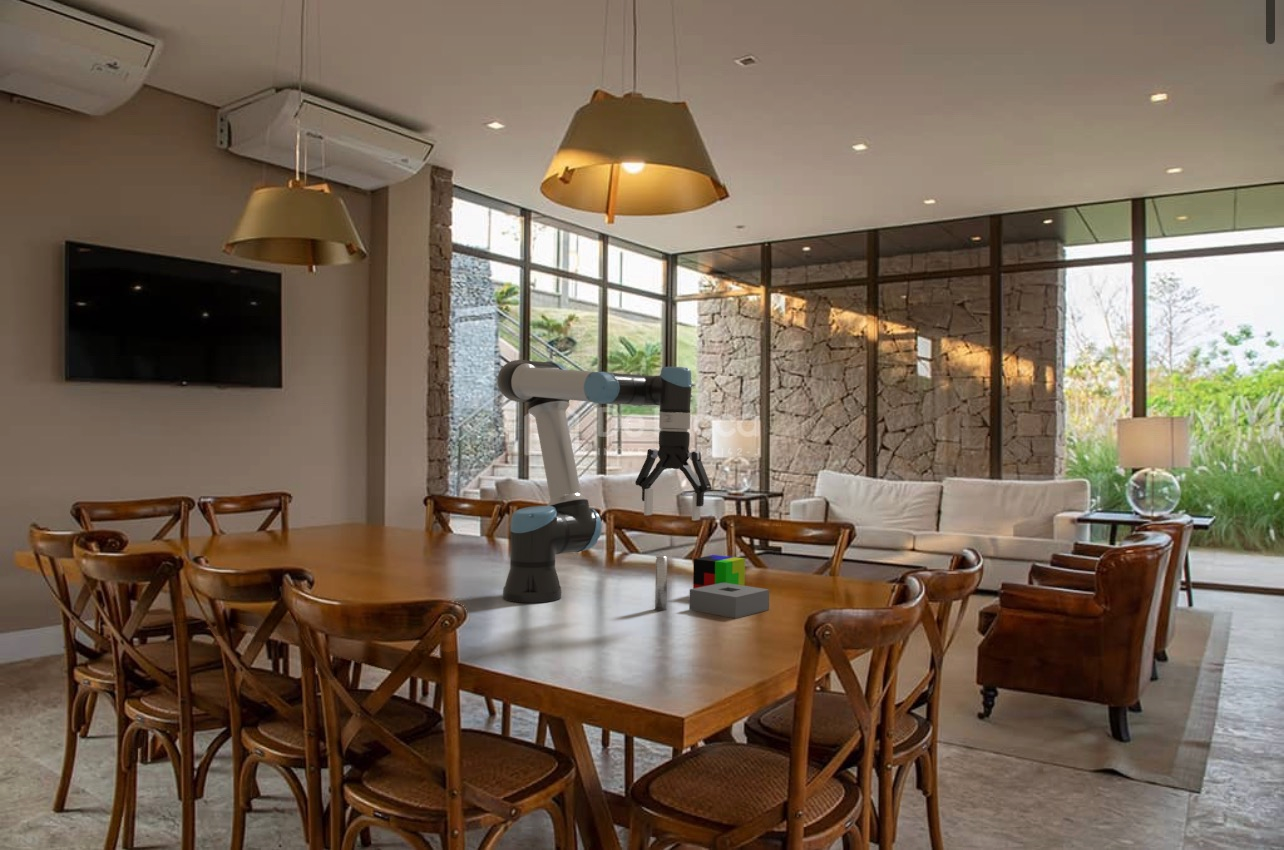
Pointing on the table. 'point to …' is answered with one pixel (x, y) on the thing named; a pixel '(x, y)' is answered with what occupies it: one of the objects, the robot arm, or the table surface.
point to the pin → (661, 583)
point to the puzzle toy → (718, 570)
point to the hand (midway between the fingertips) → (671, 517)
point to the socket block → (729, 600)
